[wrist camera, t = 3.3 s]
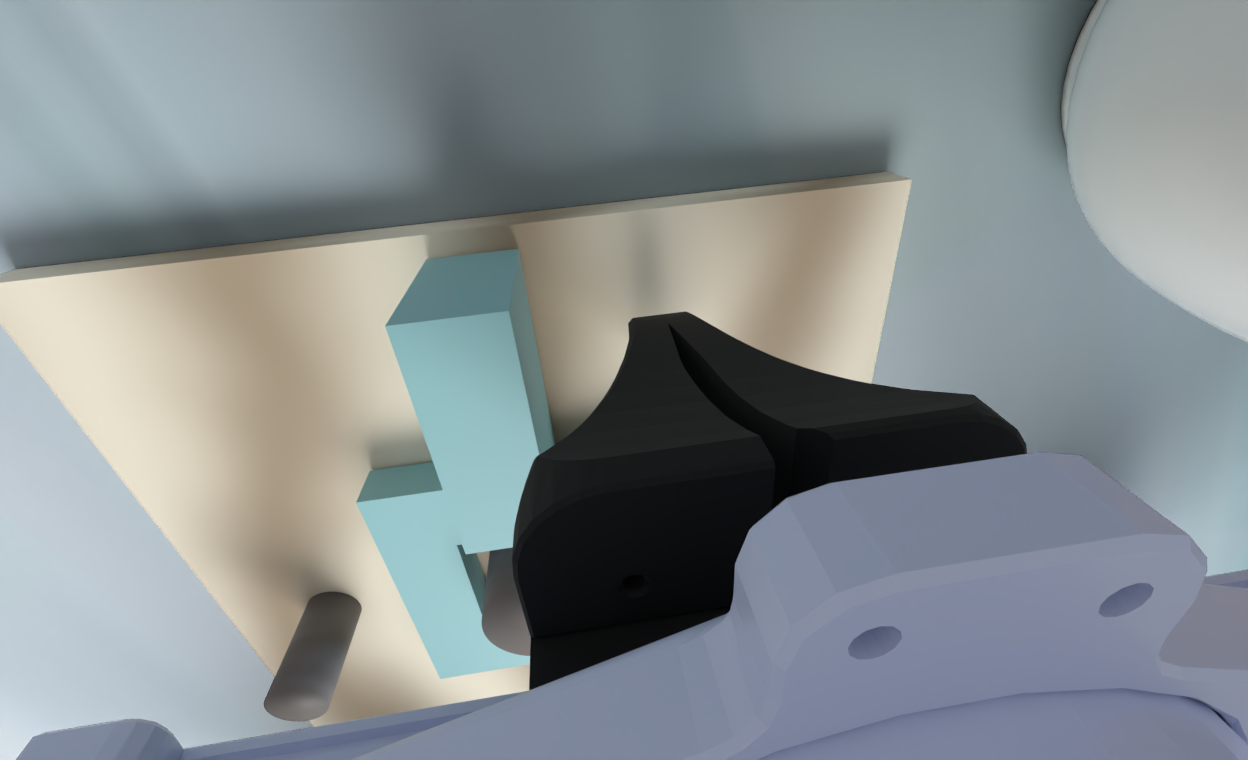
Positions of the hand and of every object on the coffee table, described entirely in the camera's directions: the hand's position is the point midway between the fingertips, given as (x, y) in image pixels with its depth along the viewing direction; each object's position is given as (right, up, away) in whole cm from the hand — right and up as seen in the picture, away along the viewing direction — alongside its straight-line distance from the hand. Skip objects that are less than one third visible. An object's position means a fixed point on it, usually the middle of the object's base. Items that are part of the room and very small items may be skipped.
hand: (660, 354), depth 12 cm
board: (-4, -5, +5) cm, 8 cm away
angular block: (-4, -4, +3) cm, 6 cm away
